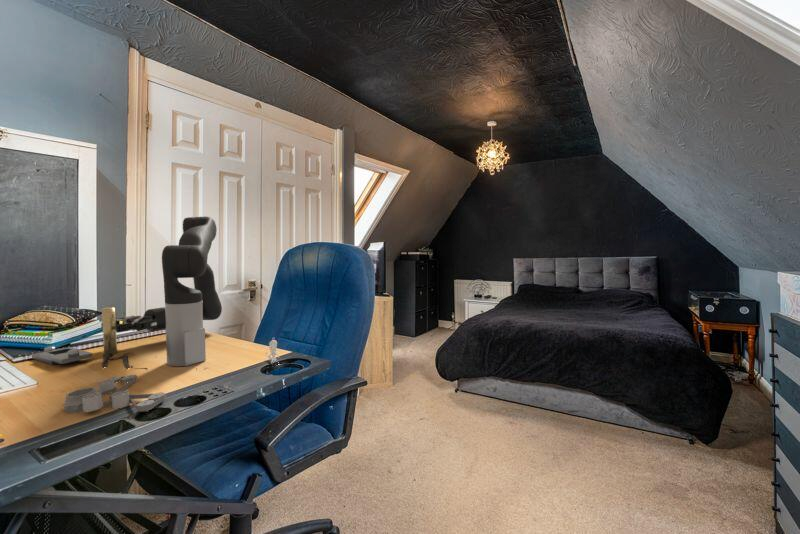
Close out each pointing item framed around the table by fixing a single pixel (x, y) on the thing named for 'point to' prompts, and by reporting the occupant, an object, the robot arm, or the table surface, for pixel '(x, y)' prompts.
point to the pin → (109, 330)
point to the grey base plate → (61, 355)
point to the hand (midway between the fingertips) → (109, 327)
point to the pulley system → (93, 400)
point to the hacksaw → (125, 358)
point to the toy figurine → (273, 350)
